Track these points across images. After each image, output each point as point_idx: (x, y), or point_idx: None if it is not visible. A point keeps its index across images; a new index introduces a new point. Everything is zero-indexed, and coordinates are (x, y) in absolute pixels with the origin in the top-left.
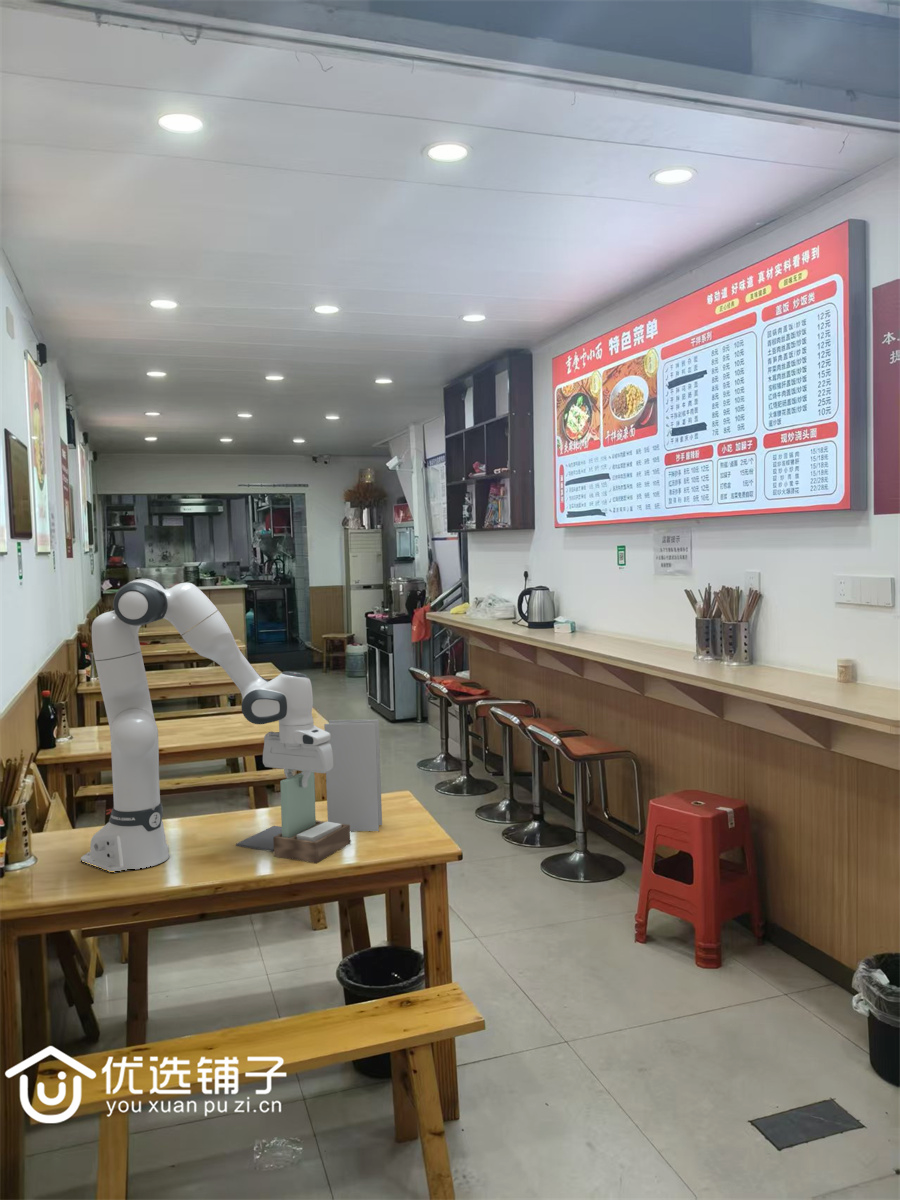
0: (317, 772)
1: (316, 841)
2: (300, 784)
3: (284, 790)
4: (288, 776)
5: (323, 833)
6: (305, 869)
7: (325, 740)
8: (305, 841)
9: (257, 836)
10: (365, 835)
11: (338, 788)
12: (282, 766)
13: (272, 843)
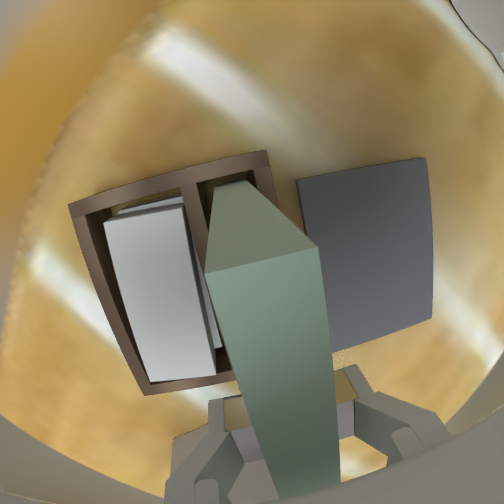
0: (26, 497)
1: (80, 220)
2: (239, 407)
3: (241, 231)
4: (380, 412)
5: (121, 290)
6: (82, 141)
7: None
8: (112, 194)
9: (418, 235)
10: (175, 413)
11: (273, 499)
12: (474, 443)
13: (340, 218)
